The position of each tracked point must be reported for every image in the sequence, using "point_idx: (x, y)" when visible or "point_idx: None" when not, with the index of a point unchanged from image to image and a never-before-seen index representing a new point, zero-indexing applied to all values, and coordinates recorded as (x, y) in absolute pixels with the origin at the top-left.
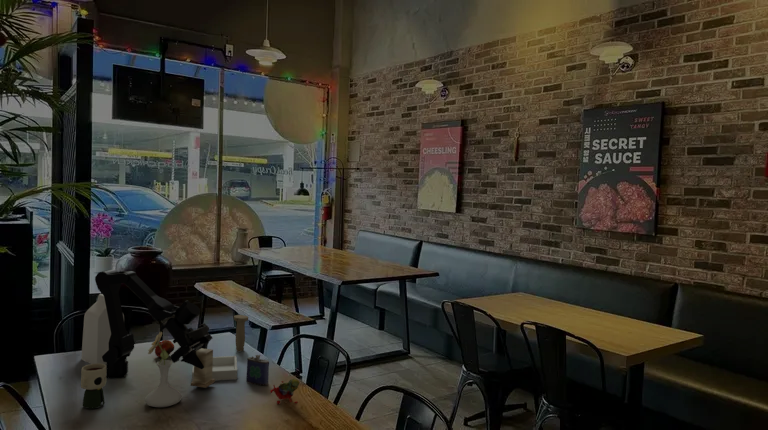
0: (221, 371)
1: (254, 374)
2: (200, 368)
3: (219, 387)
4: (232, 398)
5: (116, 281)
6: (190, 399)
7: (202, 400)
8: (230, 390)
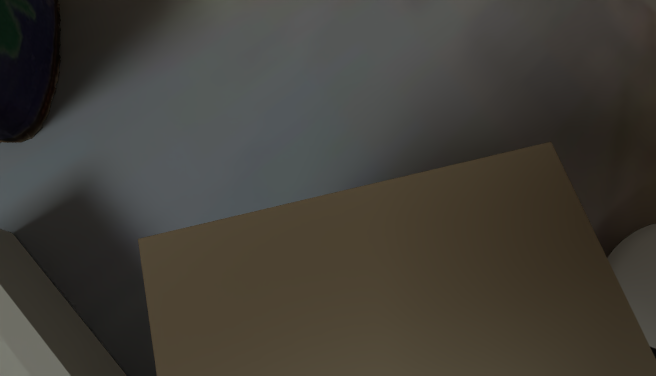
0: (47, 341)
1: (6, 3)
2: None
3: None
4: (338, 40)
5: None
6: None
7: None
8: (243, 126)
